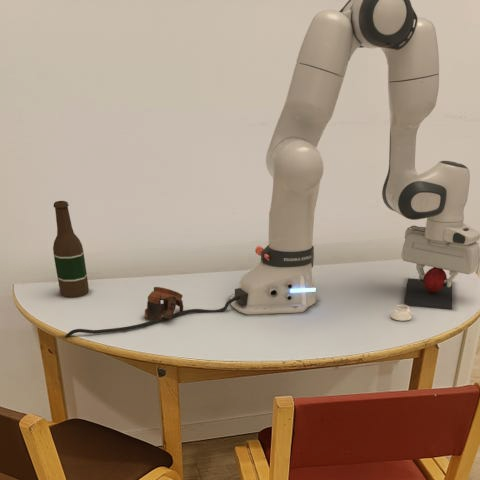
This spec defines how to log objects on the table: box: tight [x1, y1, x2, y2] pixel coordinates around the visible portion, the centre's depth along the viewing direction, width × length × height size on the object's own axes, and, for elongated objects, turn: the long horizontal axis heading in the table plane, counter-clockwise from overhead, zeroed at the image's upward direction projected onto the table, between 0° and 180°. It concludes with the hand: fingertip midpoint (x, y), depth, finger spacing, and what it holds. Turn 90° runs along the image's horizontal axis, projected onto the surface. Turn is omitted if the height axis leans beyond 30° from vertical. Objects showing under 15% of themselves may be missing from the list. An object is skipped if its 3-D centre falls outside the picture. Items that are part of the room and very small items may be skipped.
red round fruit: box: [424, 267, 448, 293], centre depth 159 cm, size 6×6×8 cm
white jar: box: [390, 304, 413, 322], centre depth 146 cm, size 5×3×5 cm
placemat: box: [403, 277, 453, 311], centre depth 162 cm, size 22×12×1 cm, turn 163°
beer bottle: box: [52, 200, 90, 298], centre depth 158 cm, size 8×8×24 cm
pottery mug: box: [144, 286, 184, 323], centre depth 148 cm, size 12×10×8 cm
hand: (434, 283), depth 159 cm, fingers closed on red round fruit, 6 cm apart
